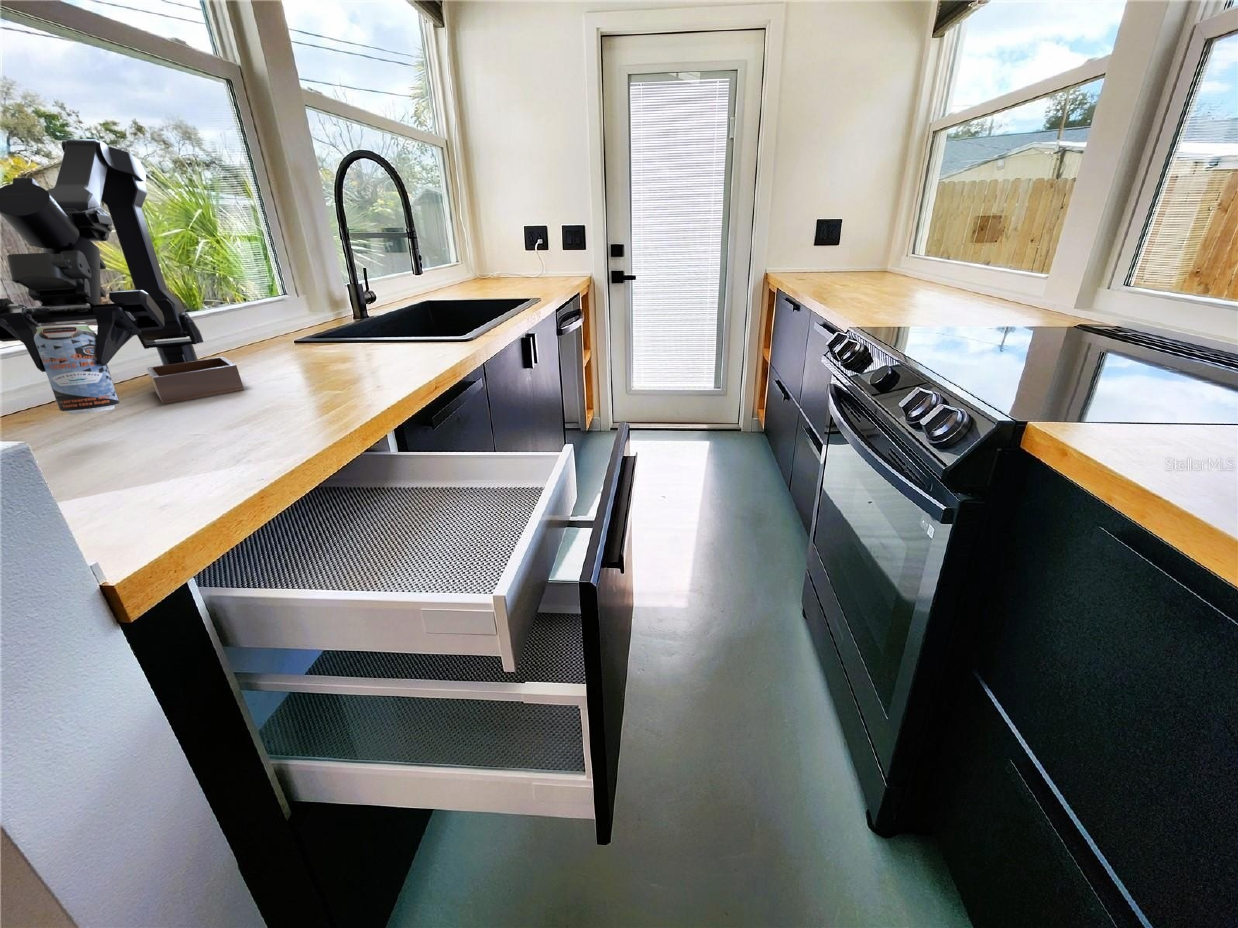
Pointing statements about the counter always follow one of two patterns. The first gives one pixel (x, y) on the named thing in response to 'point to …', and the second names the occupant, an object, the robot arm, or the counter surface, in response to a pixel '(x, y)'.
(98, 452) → the counter surface
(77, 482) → the counter surface
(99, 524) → the counter surface
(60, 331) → the beverage can
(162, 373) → the brown rectangular open box
